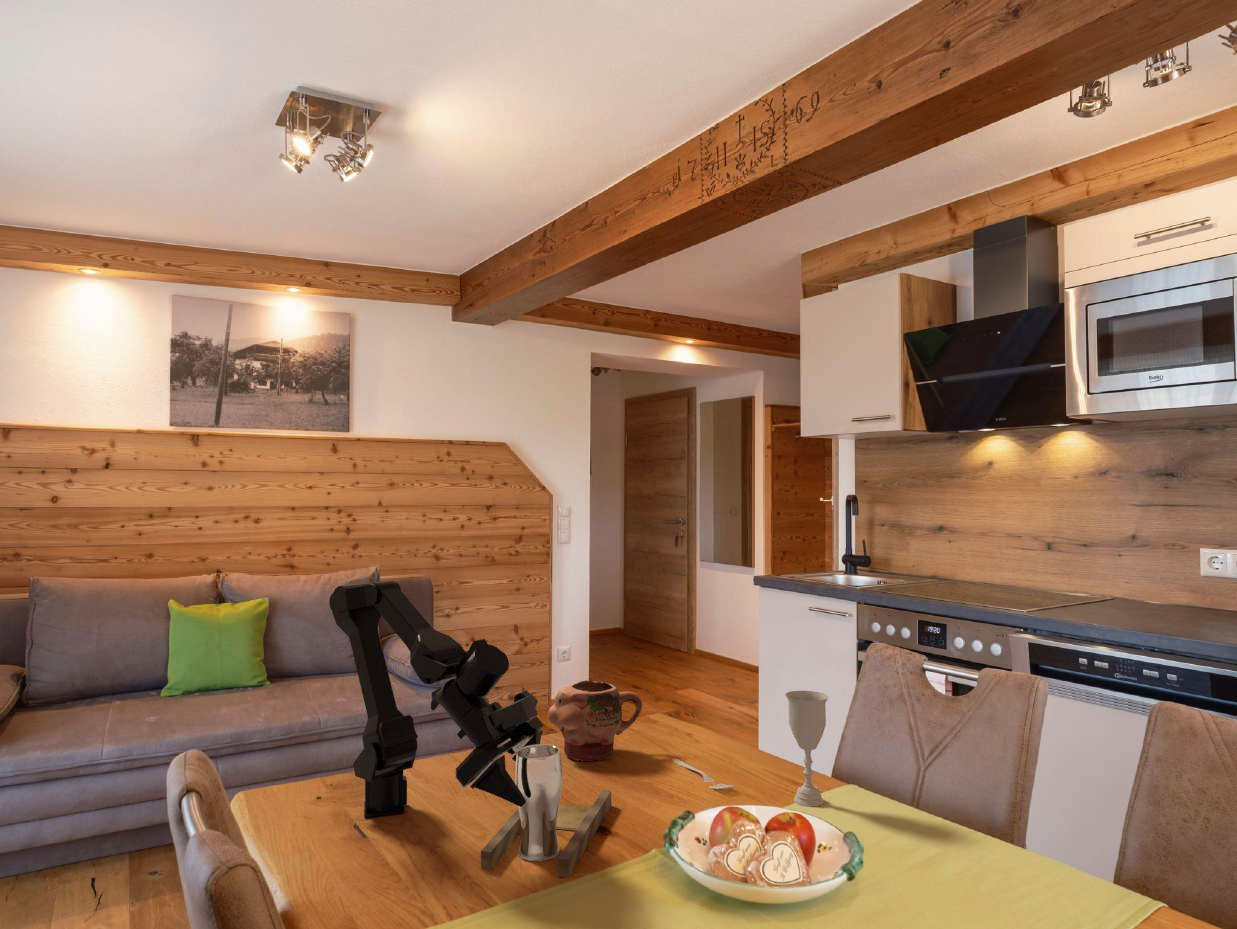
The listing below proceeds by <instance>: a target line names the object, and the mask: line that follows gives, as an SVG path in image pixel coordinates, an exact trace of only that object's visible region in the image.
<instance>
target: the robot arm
mask: <svg viewBox="0 0 1237 929" xmlns="http://www.w3.org/2000/svg"><path fill="white" fill-rule="evenodd" d="M328 603H329V604H328V605H329V608H330V610H331V613H332V615H333V618H334V621H335V624H336V626H337V627H338V628H340V630H342V632H343V633H344V634H345V635H346V636H347V637H348V639H349V643H350V648H351V652H352V655H353V658H354V659H353V660H354V663H355V668H356V669H355V670H356V672H357V676H358V680H359V685H360V689H361V693H362V697H363V702H364V707H365V710H366V716H367V719H366V720H367V721H366V724H365V727H364V731H363V734H362V745H363V749H362V750H361V752H360V753H359V755H358V756H357V757H356V759H355V760H354V761H353V762H352V766H353V770H354V771H353V772H354V776H355V777H357V778H360V779H362V780H364V803H363V805H364V806H363V816H364V818H372V817H373V818H374V817H379V816H380V817H381V816H387V815H396V814H403V813H405V806H407V805H408V779H407V776H406V775H404V771H406V770H408V769H409V770H410V769H413V767H414V763H415V758H416V755H417V751H418V749H419V747H418V746H419V745H418V738H419V735H418V734H417V732H416V730H415V724H414V718H413V717H412V715H411V714H407V715H405V714H403V713H402V712H401V711H400V709H399V708H398V706H397V702H396V698H395V694H394V691H393V686H392V681H391V677H390V674H389V669H388V665H387V661H386V657H385V653H384V648H383V644H382V641H381V637H380V632H379V625H380V622H381V619H382V618H383V619H384V620H385V622H387V624H388V625H389V626H390V627H391V629H392V630H393V631H394V632H395V634H396V635H397V636H398V637H399V640H401V642H403V643H404V645H405V646H406V648H407V649H408V651H409V653H410V654H409V655H410V657H409V660H410V661H409V663H410V666H411V667H412V669H413V670H414V672H415V674H416V676H417V677H418V679H419V681H420V682H422V683H423V684H425V685H433V684H437V683H441V682H445V681H446V682H445V683H444V685H443V686H442V687H439V688H436V689H435V690H434V691H432V692H431V701H430V710H431V711H436V710H437V709H438V708H439V709H440V707H442V709H443V710H444V711H445V712H446V713H447V714H448V715H449V717H450V718H451V719H452V721H453V722H454V723H455V724H456V726H457V727H458V728H459V729H460V730H459V731H458V732H457V734H456V735H457V737H458V738H459V739H460V740H463V739H464V738H467V739H468V740H469V742H470V743H471V744H472V745H473V747H474V749H473V750H472V751H471V752H470V753H469V754H468V755H467V756H466V757H465V758H464V759H463V760H462V761H461V763H460V764H459V765H458V766H456V768H455V779H456V780H457V781H458V783H460V785H461V786H462V787H463V788H466V787H468V786H469V785H470V788H471V789H472V790H474V789H478V790H481V791H482V792H485V793H488V794H491V795H493V796H496V797H497V798H500V799H503V800H504V801H507V802H510V803H511V804H514V805H516V806H517V807H518V806H520V807H522V806H523V805H524V804H525V803H526V800H525V798H524V796H523V795H522V793H521V791H520V790H519V788H518V787H517V785H516V784H515V781H514V779H513V778H512V777H511V775H510V774H509V772H508V771H507V769H506V755H505V754H506V753H507V754H510V755H512V758H511V759H512V761H514V762H515V763H516V756H517V753H516V752H517V750H518V749H520V748H522V747H525V746H528V745H535V744H541V741H542V740H541V739H542V735H543V733H544V731H543V728H544V726H545V725H544V724H543V723H542V721H541V720H540V719H539V717H538V715H539V713H538V710H537V705H538V703H539V700H538V699H537V697H534V696H533V694H531V693H530V692H529V691H528V690H527V689H525V690H522V691H520V692H518V693H516V694H514V696H513V702H511V703H509V704H508V705H505V706H502V705H501V704H500V703H499V702H497V701H494V702H492V703H490V702H489V701H488V700H487V698H486V697H485V696H487V695H489V693H490V692H491V691H492V690H493V689H494V687H496V685H497V684H498V683H499V681H500V680H501V678H502V677H503V676H504V675H505V674H506V673H507V672H508V670H509V667H510V662H509V658H508V656H507V654H506V653H505V652H503V651H502V650H501V649H500V648H498V647H496V646H495V645H492V644H490V643H489V644H488V642H487V640H486V639H485V638H482V639H481V638H480V639H476V640H474V641H473V642H472V643H471V644H470V646H469V649H468V650H465V649H464V647H463V645H461V644H460V643H459V642H457V640H455V639H454V638H453V637H452V636H450V635H448V634H446V633H443V632H441V631H438V630H436V629H435V628H433V627H432V625H431V624H430V623H429V622H428V621H427V620H426V618H425V617H424V616H423V615H422V614H421V612H420V611H419V610H418V609H417V608H416V607H415V606H414V604H413V603H412V602H411V601H410V600H409V598H408V597H407V596H406V595H405V594H404V593H403V592H402V589H401V585H400V584H399V583H398V582H397V581H394V580H385V581H376V582H363V583H354V584H344V585H338V586H336V587H335V589H334V590H333V593H332V594H330V596H329V602H328Z"/></svg>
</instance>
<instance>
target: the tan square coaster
mask: <svg viewBox="0 0 1237 929" xmlns="http://www.w3.org/2000/svg"><path fill="white" fill-rule="evenodd" d="M592 806H593V805H580V804H569V803H560V805H559V811H558V817H557V830H563V831H575V832H576V830H577V829H578V827H579V825H580V824H581V822H582V821H583V819H584V818H585V816H586V815H587V813H588V812H589V810H590V809H591V807H592Z"/></svg>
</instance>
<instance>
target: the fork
mask: <svg viewBox="0 0 1237 929" xmlns="http://www.w3.org/2000/svg"><path fill="white" fill-rule="evenodd" d="M674 759H675V761H673V762H674V763H675V764H677V765H679V766H681V767H683V768H685V769H688V770H691V771H694V772H697V773H699V774H700V775H701V776H702V777H703V780H704V783H709V782H714V781H715V780H714V779H713V778H711V777H709V775H707V774H706V773H705V772H703V771H702V770H700V769H697V768H695V767H693V766H691V765H690V764H688V763H685V762H684V761H682V760H681V761H680V759H678V758H674ZM708 787H709V788H710V789H714V790H724V789H730V788H734V787H735V788H736V787H737V785H733V784H731V785H729V784H724V783H719V784H716V785H712V786H710V785H709V786H708Z"/></svg>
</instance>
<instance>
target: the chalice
mask: <svg viewBox="0 0 1237 929" xmlns="http://www.w3.org/2000/svg"><path fill="white" fill-rule="evenodd" d="M785 698H786V699H787V701H788V723H789V724H788V725H789V727H790V730H791V732H792V735H793V738H794V739H795V741H796V743H797V745H798V747H799V748H800V749H802V750H804V759H803V760H802V762H803V763H804V770H803V771H802V773H803V774H804V778H805V780H804V783H803V784H801V785H800V786H799V787H798V788H797V791H796V793H795V796H794V798H793V802H794V803H796V805H797V804H798V805H800V806H803V807H809V806H815V807H819V805H820V806H822V805H823V804H824V802H825V801H824V799H823V797H822V794H821V792H820V789H819V788H818V787H817V786H816V785H814V784H813V782H812V777H813V775H814V773H815V772H814V771H813V770H812V764H813V762H814V761H813V759H812V751H813V750H816V749H817V748H818V745H819V743H820V741H821V739H822V738H823V735H824V732H825V728H826V726H827V717H826V716H827V715H826V713H827V712H826V709H827V708H826V702H827V701H828V700H829V695H827V694H826V693H824V692H819V691H812V690H792V691H788V692H786V693H785Z"/></svg>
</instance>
